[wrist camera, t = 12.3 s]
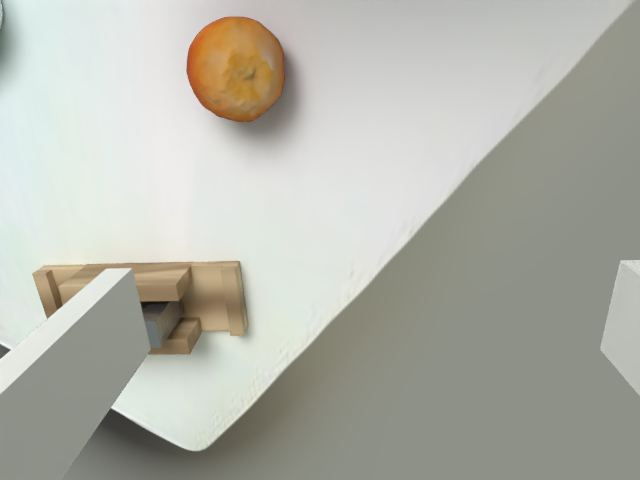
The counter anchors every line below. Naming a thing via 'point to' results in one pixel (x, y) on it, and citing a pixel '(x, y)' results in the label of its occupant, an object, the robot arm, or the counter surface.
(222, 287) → the rail
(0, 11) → the ramekin
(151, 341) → the clip
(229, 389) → the counter surface
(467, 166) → the counter surface
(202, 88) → the fruit
